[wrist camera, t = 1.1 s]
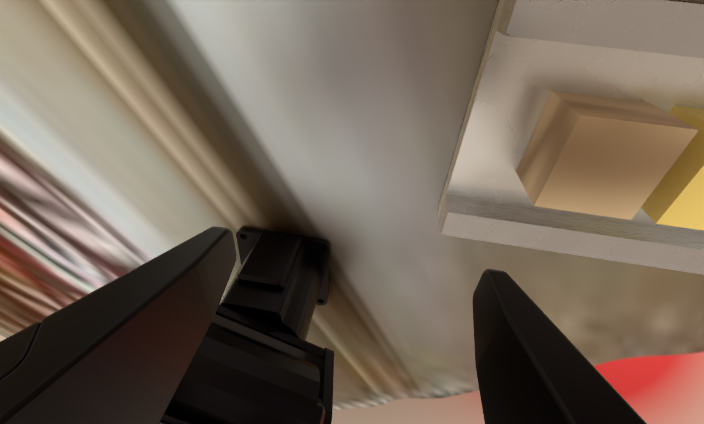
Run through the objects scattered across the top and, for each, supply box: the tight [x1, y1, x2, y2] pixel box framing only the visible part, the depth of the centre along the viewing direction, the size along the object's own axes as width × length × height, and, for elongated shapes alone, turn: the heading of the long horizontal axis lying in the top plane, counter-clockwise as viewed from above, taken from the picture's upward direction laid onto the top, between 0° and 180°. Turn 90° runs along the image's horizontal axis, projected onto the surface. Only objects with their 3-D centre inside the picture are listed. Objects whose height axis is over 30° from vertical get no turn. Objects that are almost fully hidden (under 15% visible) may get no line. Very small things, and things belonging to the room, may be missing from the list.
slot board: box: [438, 0, 704, 275], centre depth 15 cm, size 11×14×2 cm
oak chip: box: [516, 91, 699, 220], centre depth 14 cm, size 4×4×3 cm
